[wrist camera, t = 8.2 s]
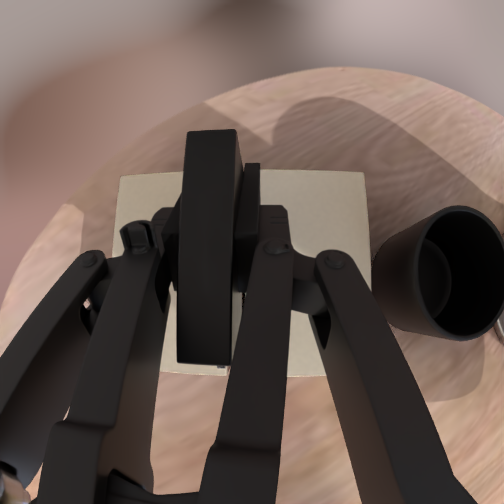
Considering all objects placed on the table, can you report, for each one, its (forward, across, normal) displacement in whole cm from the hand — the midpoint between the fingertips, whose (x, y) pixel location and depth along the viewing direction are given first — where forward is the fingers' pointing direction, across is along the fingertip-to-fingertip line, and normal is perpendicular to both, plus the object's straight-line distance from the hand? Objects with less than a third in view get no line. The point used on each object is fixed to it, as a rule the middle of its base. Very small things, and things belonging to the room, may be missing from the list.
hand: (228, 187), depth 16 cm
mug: (+5, +17, -12) cm, 21 cm away
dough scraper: (+2, 0, -7) cm, 7 cm away
